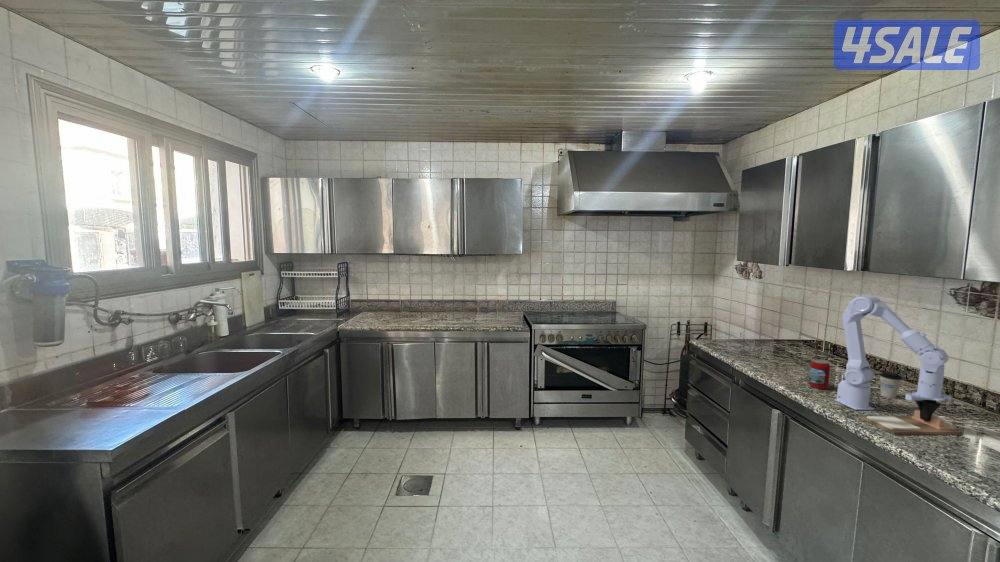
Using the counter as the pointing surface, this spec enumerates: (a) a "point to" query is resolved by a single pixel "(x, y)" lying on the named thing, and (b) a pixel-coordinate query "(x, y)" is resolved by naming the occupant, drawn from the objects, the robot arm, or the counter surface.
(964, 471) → the counter surface
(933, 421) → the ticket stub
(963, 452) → the counter surface
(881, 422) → the board
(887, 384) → the coffee cup
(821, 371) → the beverage can
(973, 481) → the counter surface
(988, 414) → the counter surface
